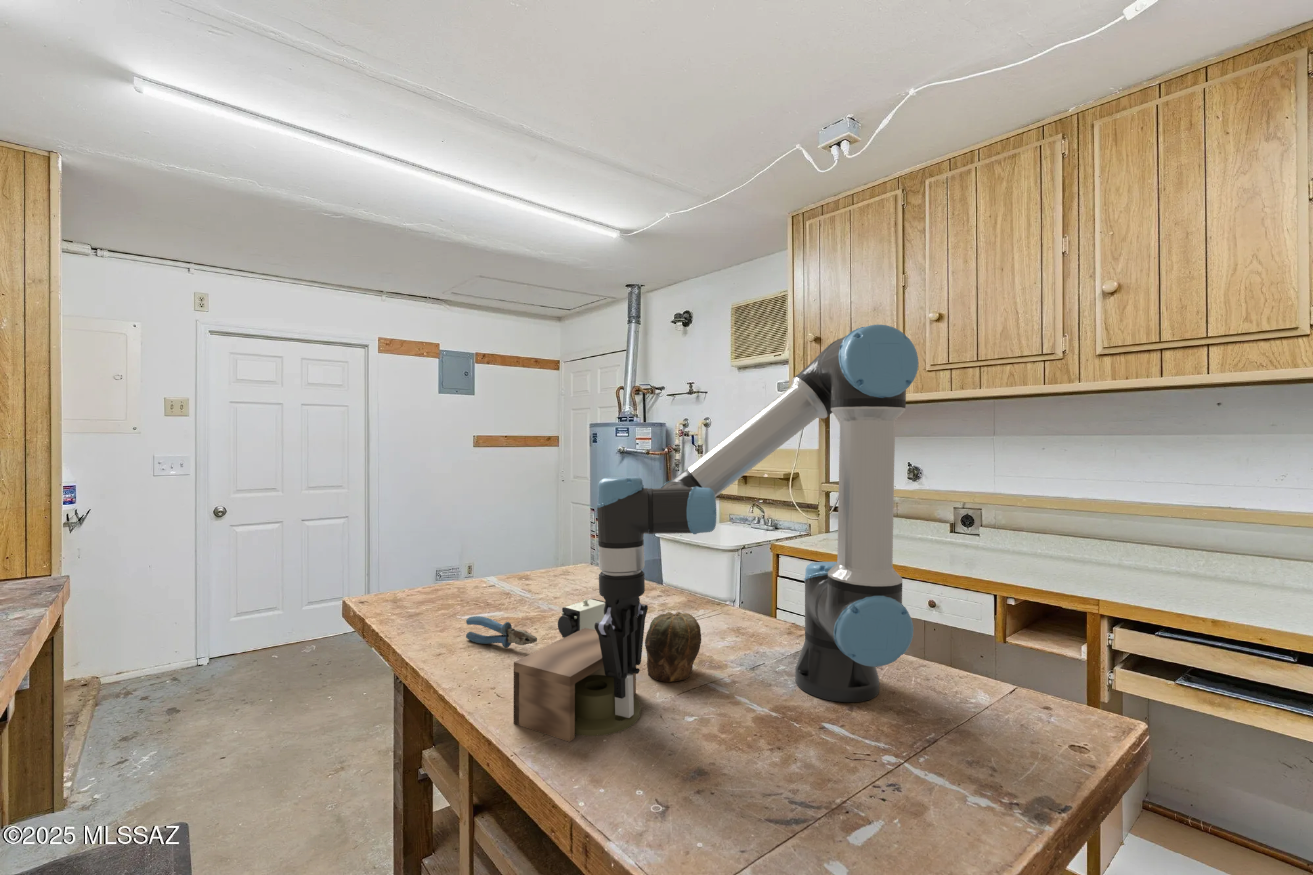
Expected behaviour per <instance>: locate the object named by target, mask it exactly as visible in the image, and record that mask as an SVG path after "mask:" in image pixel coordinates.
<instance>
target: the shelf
mask: <svg viewBox="0 0 1313 875" xmlns="http://www.w3.org/2000/svg"><path fill="white" fill-rule="evenodd" d="M591 675H605V671H604V665H603V659H602V653H601V648H600V642H599V636H598V634H597V632H596V630H593V629H588V628H584V629H581V630H579V631H577V632H575V633H573V634H571V635H569V636H567V637H565V638H563V637H562V638H561V639H558V640H557V641H554V642H552V643H551V644H549V645H546V646H545V647H542V648H540V649H538V650H536V651H534V652H532V653H530V654H528V655H526V656H523V657H522V658H519V659H517V660H515V661H513V724H514V725H517V726H520V727H523V728H526V729H530V730H532V731H536V732H539V733H541V734H544V735H548V736H550V737H554V738H557V739H559V740H563V741H565V742H569V743H571V742H572V741H574V739H575V738H576V737H575V735H576V734H575V683H577V682H578V681H580V680H582V679H583V678H585V677H587V676H591ZM605 676H606V675H605ZM636 693H637V674H635V673H633V696H634V695H636Z"/></svg>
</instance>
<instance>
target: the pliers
mask: <svg viewBox="0 0 1313 875" xmlns="http://www.w3.org/2000/svg"><path fill="white" fill-rule="evenodd" d="M465 622H466V625H467V626H469V625H473V626H481V627H484V628H487V629H489V630H492V631H494V632H497V633H499V635H498V634H497V635H483V634H480V633H476V632H474V631H468V632H467V633H466V635H465V638H466V639H467V640H469V641H471V642H473V643H477V644H482V645H483V644H484V645H485V644H501V645H502V646H503V648H507V649H508V648H509V647H511V644H515V645H517V646H526V645H530V644H534V643H536V642H538V637H537V636H535V635H533V634H532V633H530V632H528V631H526V630H523V629H515V628H513V627H512V624H511V622H509V621H505V622H504V623H503V624H502V623H500V622H498V621H497V620H493V619H492V618H489V617H486V616H482V615H481V616H480V615H475V616H470V617H467V619H466V620H465Z"/></svg>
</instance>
